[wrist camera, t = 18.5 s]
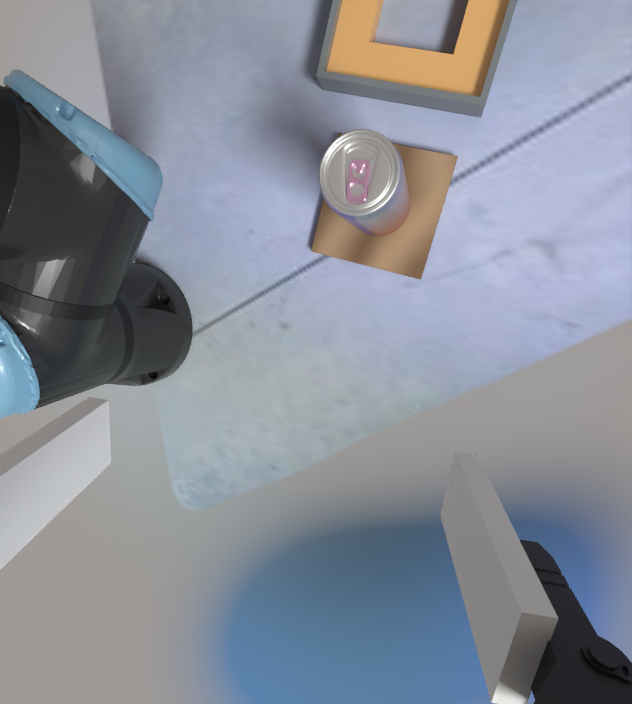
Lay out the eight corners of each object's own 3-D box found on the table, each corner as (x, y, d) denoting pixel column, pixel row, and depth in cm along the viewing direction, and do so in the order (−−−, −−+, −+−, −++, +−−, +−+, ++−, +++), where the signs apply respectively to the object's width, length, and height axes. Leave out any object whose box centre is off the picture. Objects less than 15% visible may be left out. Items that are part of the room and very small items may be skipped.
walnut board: (313, 251, 47) (311, 251, 46) (341, 136, 44) (339, 133, 43) (420, 279, 44) (420, 279, 43) (457, 159, 42) (457, 156, 41)
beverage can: (348, 234, 44) (312, 215, 30) (355, 174, 43) (320, 124, 29) (406, 239, 43) (396, 221, 29) (414, 177, 42) (408, 126, 28)
